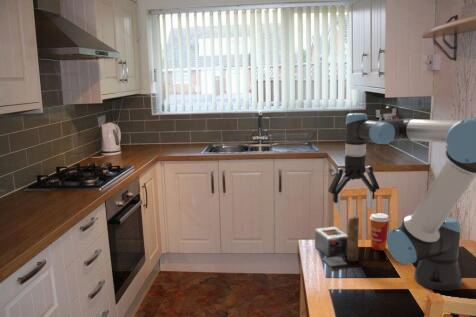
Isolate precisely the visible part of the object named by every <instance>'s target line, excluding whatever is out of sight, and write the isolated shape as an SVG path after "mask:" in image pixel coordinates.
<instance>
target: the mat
mask: <svg viewBox="0 0 476 317" xmlns="http://www.w3.org/2000/svg"><path fill="white" fill-rule="evenodd" d="M321 260H322V261H323V263H325V264H326V265H327V266H328V267H329V268H333V267H334V268H335V267H341V266H347V265H348V263H347V262H346V261H344V259H342V258H341V256H336V257H329V258H327V257H323V258H321Z"/></svg>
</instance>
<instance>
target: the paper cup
mask: <svg viewBox="0 0 476 317" xmlns="http://www.w3.org/2000/svg"><path fill="white" fill-rule="evenodd" d="M369 220H370V235H371V236H370V241H371V242H370V244H371V245H370V246H371V249H372V250H375V251H385V250H386V246H387V235H388V232H389V221H390V218H389V215H388V214H387V213H383V212H382V213H381V212H380V213H379V212H378V213H371V214H370V217H369ZM384 249H385V250H384Z"/></svg>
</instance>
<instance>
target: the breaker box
mask: <svg viewBox="0 0 476 317" xmlns="http://www.w3.org/2000/svg"><path fill="white" fill-rule="evenodd" d="M314 232H315V234H314V247H315V248H316V249H317V250H318V251H319V252H321V254H323V255H324V256H325V258H329V257H336V256H339V257H345V256H346V257H347V241H348V233H347V234H346V233H345V232H344V231H342V230H341V229H340V228H338V227H337V226H334V225H333V226H327V227H318V228H314ZM330 232H332V234H327V233H330ZM328 235H330V236H328ZM330 240H337V245H333V246H330Z"/></svg>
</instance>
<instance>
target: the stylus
mask: <svg viewBox="0 0 476 317" xmlns="http://www.w3.org/2000/svg"><path fill="white" fill-rule="evenodd" d="M359 220H360V218H359V217H358V216H355V215H350V216H348V217H347V235H348V241H347V255H346V260H347V261H348V262H357V261H358V259H359V257H358V255H359V253H358V252H359V226H360V222H359Z"/></svg>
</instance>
